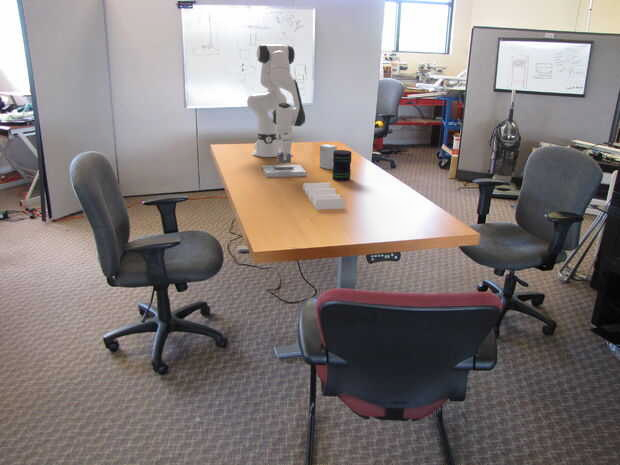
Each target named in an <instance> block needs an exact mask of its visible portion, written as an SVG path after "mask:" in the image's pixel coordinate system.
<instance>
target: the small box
mask: <svg viewBox="0 0 620 465" xmlns="http://www.w3.org/2000/svg"><path fill="white" fill-rule="evenodd" d="M336 150H338V146H336V145H332V144H328V143H327V144H320V145H319V168H323V169H326V170H333V163H334V162H333V154H334V151H336Z"/></svg>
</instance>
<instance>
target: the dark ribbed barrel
mask: <svg viewBox="0 0 620 465" xmlns="http://www.w3.org/2000/svg"><path fill="white" fill-rule="evenodd" d="M333 162H334V163H333V169H332V177H331V178H332V180H333V181H335V182H349V181H351V175H352V174H351V163H352V151H350V150H346V149H337V150H336V151H334V154H333Z"/></svg>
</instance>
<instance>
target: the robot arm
mask: <svg viewBox="0 0 620 465" xmlns="http://www.w3.org/2000/svg"><path fill="white" fill-rule="evenodd" d="M295 56H296V53H295V49H294V48H293V46H290V45H284V44H277V43H276V44H273V43H272V44H271V43H270V44H269V43H268V44H266V43H264V44H263V43H262V44H260V45H259V46H258V47H257V50H256V57H257V61H259V63H261V71H260V84H261V86H262V87H264V88H265V89H267V92H258V93H253V94H250V95H249V96H248V98H247V101H246V104H247V107H248V109H249V110H250V111H252V113H254V115H255V117H256V120H257V124H258V125H257V126H258V134H257V141H256V143H254V148H255V149H254V150H253V152H252V155H253V156H256V157H261V158H273V157H274V158H276V156H275V155H277V153H283V160H287V154H291V149H292V140H293V126H294V127H302V126H303V125H304V124H305V123H306V113H305V110H304V107H303V103H302V97H301V93H300V90H299V84H298V82H297V80H296V79H294V78H293V77H292V74H291V66H290V65H291V64H293V63H294V60H295ZM281 89H283V90H284V91H287V92H288V93H290V94H291V96H292V100H293V104H294V107H292V105H291V104H290V103H287V97H286V95H285V94H284V93H283V92H282V91H281ZM269 112H271V113H272V116H270V115H269Z"/></svg>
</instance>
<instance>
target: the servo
mask: <svg viewBox="0 0 620 465" xmlns="http://www.w3.org/2000/svg"><path fill="white" fill-rule="evenodd" d="M275 158H277V163H278V164H291V162H292V158H294V155H293V154H291V153H290V154H287V160H283V153H277V155H275Z"/></svg>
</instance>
